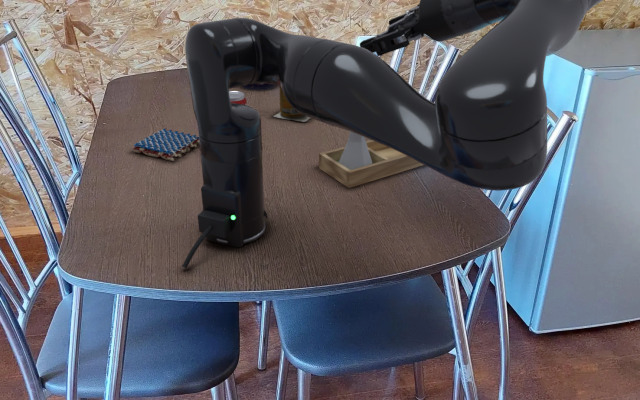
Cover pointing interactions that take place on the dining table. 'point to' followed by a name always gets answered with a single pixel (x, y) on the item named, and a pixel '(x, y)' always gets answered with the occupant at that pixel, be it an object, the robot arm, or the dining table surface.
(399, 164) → the wooden compartment tray
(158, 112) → the dining table surface
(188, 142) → the woven mat
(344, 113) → the robot arm
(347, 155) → the flask
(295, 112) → the condiment
